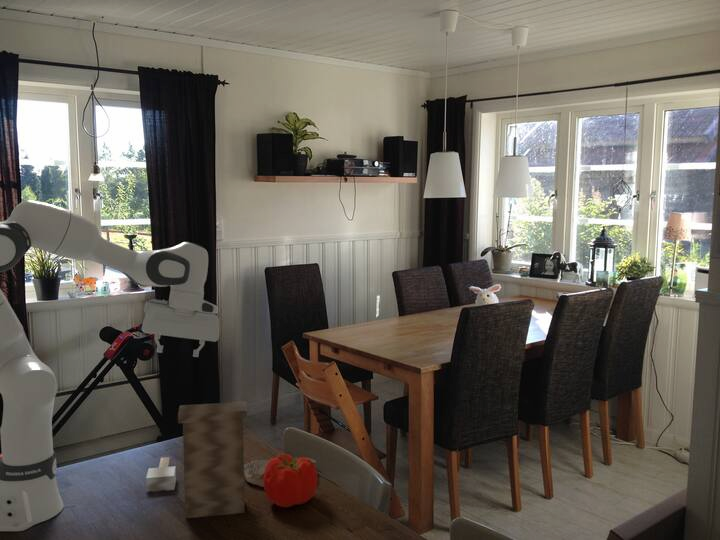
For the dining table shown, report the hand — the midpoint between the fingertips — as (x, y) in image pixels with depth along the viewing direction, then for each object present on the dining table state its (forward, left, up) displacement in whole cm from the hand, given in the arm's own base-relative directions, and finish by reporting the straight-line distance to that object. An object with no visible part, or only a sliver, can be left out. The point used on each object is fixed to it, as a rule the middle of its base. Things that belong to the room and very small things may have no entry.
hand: (177, 354), depth 177 cm
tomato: (+28, -20, -35) cm, 49 cm away
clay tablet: (+26, -5, -35) cm, 44 cm away
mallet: (-5, +1, -35) cm, 35 cm away
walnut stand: (+9, -20, -35) cm, 41 cm away
